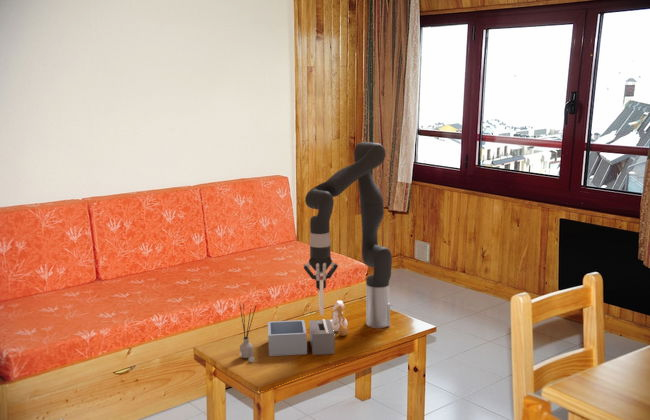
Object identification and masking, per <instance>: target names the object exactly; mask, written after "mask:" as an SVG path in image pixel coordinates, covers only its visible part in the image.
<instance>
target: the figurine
mask: <svg viewBox="0 0 650 420" xmlns="http://www.w3.org/2000/svg"><path fill="white" fill-rule="evenodd" d="M342 309H343V310H345V311H346V313H348V314H349V316H351V314H350V311H348V309H347V308H346V307H344V308H343V307H342V306H341V305H340V306H337V307H336V309H335V310H333V309H332V312H331V320H333V313H334V311H336V310H337V312H338V314H339V315H337V316H338V319H339V320H340V321H339V324H340V327H339V328H338V331H337V332H338V334H339V336H341V337H345V336H346V335H348V333H349V329H348V327H346V326H345V325H344V323H343V322H344V320H345V319H346V318H345V316H344V313H343V314H342V312H343V310H342ZM341 317H342V319H343V320H342V323H343V326H341V323H340V322H341Z"/></svg>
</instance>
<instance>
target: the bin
mask: <svg viewBox="0 0 650 420" xmlns="http://www.w3.org/2000/svg"><path fill="white" fill-rule="evenodd" d="M267 333H268V334H267V339H268V340H267V341H268V356H269V357H275V356H276V357H278V356H299V355H307V354H308V333H307V328H306V323H305V319H300V320H299V319H297V320H295V319H294V320H278V321H275V320H274V321H267Z"/></svg>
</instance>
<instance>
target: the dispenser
mask: <svg viewBox="0 0 650 420" xmlns="http://www.w3.org/2000/svg"><path fill="white" fill-rule="evenodd" d="M330 320H331V319H325V318H322V319H321V320H320V319H319V320H318V319H317V320H309V321H308V323H309V342H310V349H311V352H312V353H311V354H312V356H317V355H319V356H321V355H335V332H334V331H333V328H332V324H331V321H330Z"/></svg>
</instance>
